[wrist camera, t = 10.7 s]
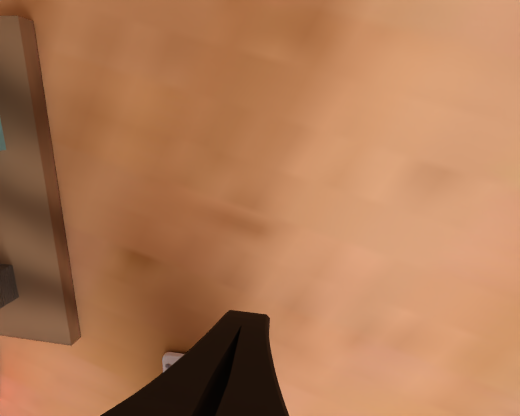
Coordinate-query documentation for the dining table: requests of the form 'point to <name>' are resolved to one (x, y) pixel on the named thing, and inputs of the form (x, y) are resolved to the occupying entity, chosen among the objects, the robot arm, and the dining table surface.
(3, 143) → the teal block
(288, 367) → the dining table surface
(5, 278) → the dark grey post
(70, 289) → the walnut board
